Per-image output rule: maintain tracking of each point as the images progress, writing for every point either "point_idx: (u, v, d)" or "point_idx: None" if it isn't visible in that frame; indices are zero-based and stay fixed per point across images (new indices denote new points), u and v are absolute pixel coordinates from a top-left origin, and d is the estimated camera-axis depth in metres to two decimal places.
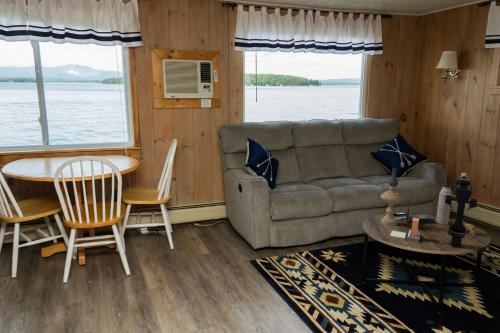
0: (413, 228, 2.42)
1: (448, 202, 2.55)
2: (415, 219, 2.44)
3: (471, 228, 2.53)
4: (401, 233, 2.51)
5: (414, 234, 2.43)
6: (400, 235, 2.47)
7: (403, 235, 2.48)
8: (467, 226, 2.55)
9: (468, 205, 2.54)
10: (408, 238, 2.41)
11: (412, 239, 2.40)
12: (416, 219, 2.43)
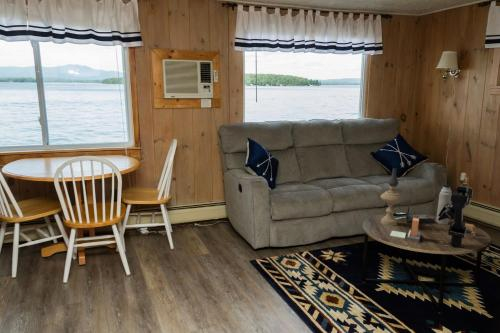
0: (413, 228, 2.42)
1: (446, 204, 2.50)
2: (415, 219, 2.44)
3: (472, 228, 2.53)
4: (401, 233, 2.51)
5: (414, 234, 2.43)
6: (400, 235, 2.47)
7: (403, 235, 2.48)
8: (468, 226, 2.55)
9: None
10: (408, 238, 2.41)
11: (412, 239, 2.40)
12: (416, 219, 2.43)
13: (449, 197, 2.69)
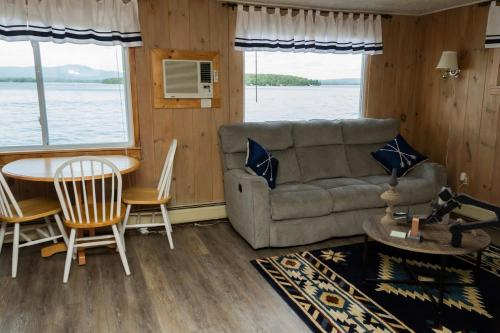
0: (413, 228, 2.42)
1: None
2: (415, 219, 2.44)
3: None
4: (401, 233, 2.51)
5: (414, 234, 2.43)
6: (400, 235, 2.47)
7: (403, 235, 2.48)
8: None
9: (432, 214, 2.43)
10: (408, 238, 2.41)
11: (412, 239, 2.40)
12: (416, 219, 2.43)
13: None
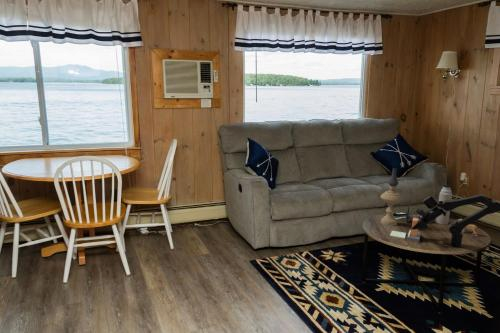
0: None
1: None
2: (415, 219, 2.44)
3: (474, 229, 2.52)
4: (401, 233, 2.51)
5: (414, 234, 2.43)
6: (400, 235, 2.47)
7: (403, 235, 2.48)
8: (470, 227, 2.54)
9: None
10: (408, 238, 2.41)
11: (412, 239, 2.40)
12: (416, 219, 2.43)
13: (449, 197, 2.69)
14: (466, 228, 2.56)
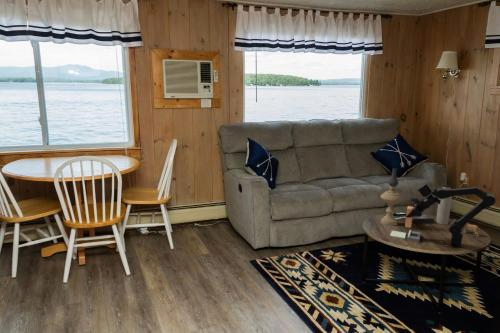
0: None
1: None
2: (410, 207, 2.44)
3: (475, 229, 2.51)
4: (401, 233, 2.51)
5: (408, 222, 2.43)
6: (400, 235, 2.47)
7: (403, 235, 2.48)
8: (471, 227, 2.54)
9: None
10: (408, 238, 2.41)
11: (412, 239, 2.40)
12: (411, 207, 2.44)
13: (449, 197, 2.69)
14: (467, 228, 2.56)
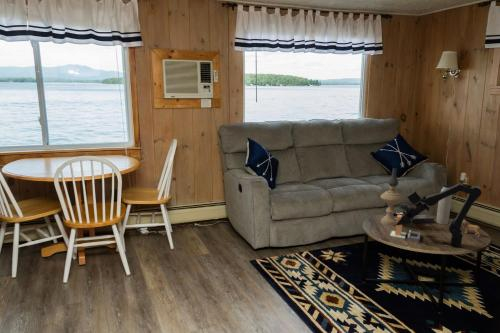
0: None
1: (410, 222, 2.38)
2: (400, 215, 2.48)
3: (476, 229, 2.51)
4: (401, 233, 2.51)
5: (398, 230, 2.47)
6: None
7: (403, 235, 2.48)
8: (472, 227, 2.53)
9: None
10: (408, 238, 2.41)
11: (412, 239, 2.40)
12: (400, 216, 2.47)
13: (449, 197, 2.69)
14: None
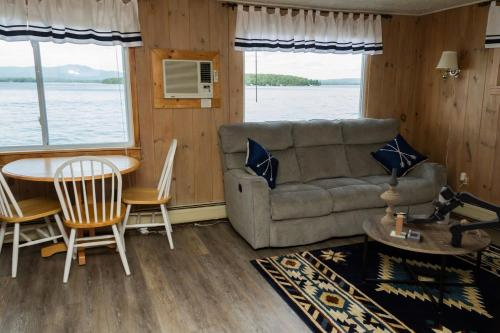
0: (397, 224, 2.46)
1: None
2: (400, 215, 2.48)
3: (478, 229, 2.50)
4: (401, 233, 2.51)
5: (398, 230, 2.47)
6: None
7: (403, 235, 2.48)
8: None
9: (434, 213, 2.42)
10: (408, 238, 2.41)
11: (412, 239, 2.40)
12: (400, 216, 2.47)
13: None
14: None
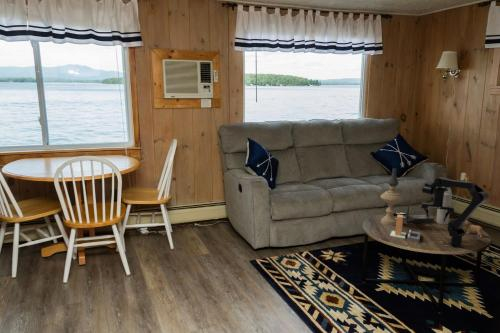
0: (397, 224, 2.46)
1: (425, 206, 2.44)
2: (400, 215, 2.48)
3: (479, 230, 2.50)
4: (401, 233, 2.51)
5: (398, 230, 2.47)
6: None
7: (403, 235, 2.48)
8: (474, 228, 2.52)
9: (445, 214, 2.42)
10: (408, 238, 2.41)
11: (412, 239, 2.40)
12: (400, 216, 2.47)
13: (449, 197, 2.69)
14: (470, 229, 2.54)
